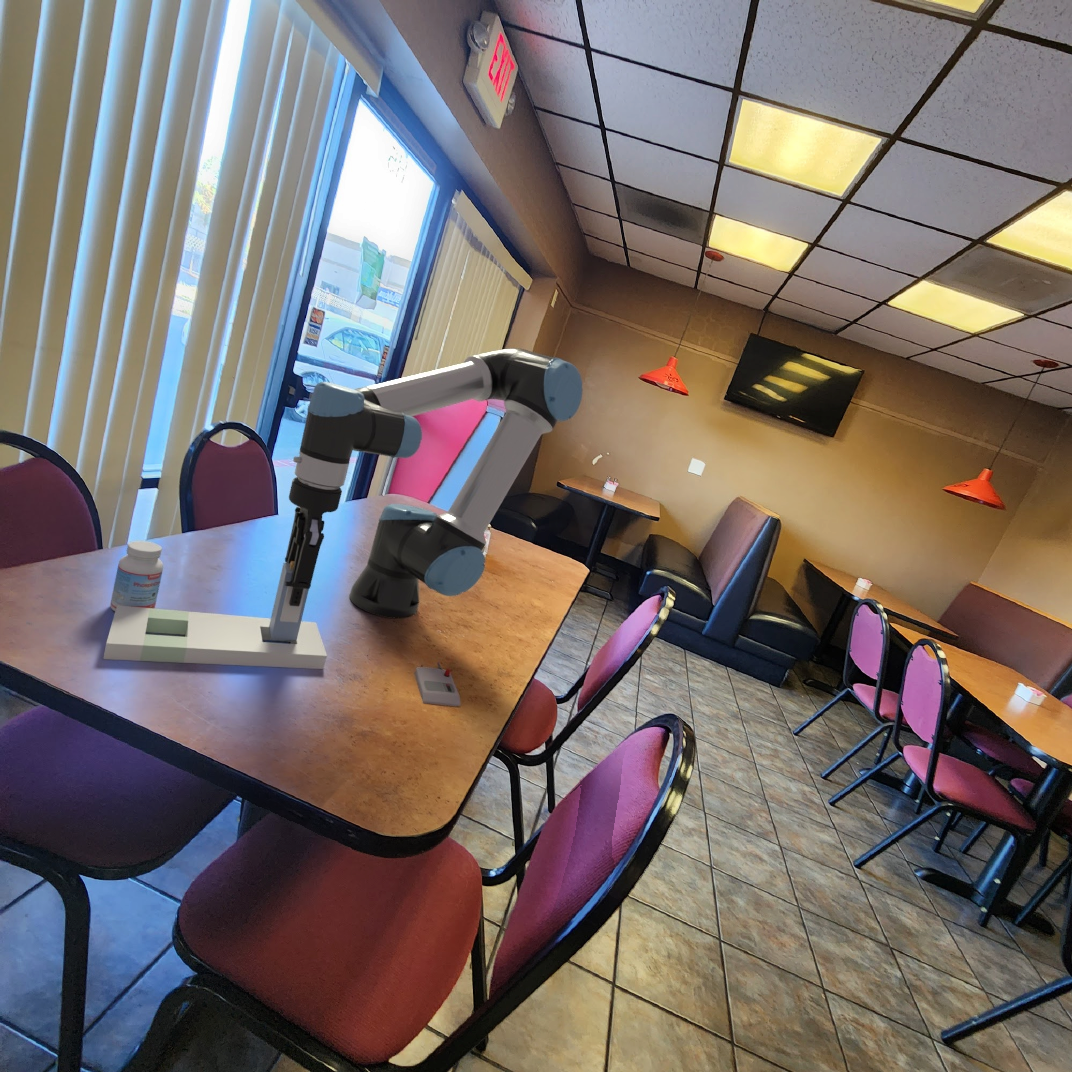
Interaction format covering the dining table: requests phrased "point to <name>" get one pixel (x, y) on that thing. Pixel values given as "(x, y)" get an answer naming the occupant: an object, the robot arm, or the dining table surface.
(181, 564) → the dining table surface
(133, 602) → the pill bottle
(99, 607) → the dining table surface
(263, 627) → the panel
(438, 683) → the remote control
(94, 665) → the dining table surface
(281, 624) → the plug
